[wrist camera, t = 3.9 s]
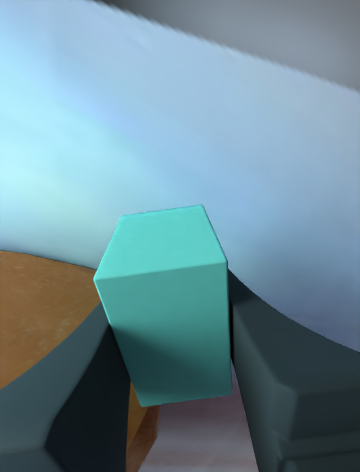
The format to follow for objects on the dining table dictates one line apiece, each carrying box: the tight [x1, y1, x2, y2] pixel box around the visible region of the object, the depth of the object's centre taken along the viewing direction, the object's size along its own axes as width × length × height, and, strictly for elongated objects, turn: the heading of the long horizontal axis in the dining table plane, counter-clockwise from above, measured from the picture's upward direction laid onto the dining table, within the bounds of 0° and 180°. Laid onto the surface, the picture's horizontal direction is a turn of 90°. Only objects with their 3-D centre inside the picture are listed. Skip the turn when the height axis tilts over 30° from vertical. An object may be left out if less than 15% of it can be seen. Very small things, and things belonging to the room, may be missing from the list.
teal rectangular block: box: [93, 205, 232, 407], centre depth 10 cm, size 7×4×5 cm, turn 7°
